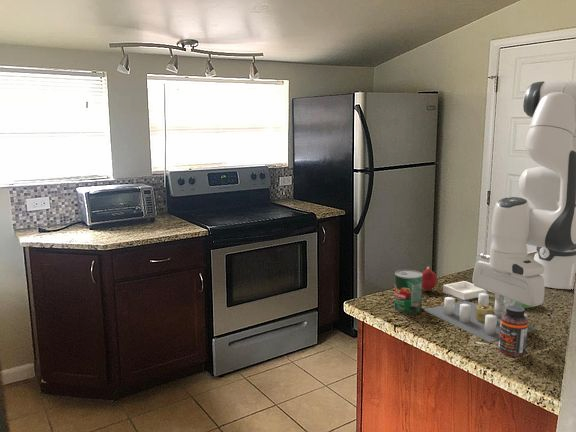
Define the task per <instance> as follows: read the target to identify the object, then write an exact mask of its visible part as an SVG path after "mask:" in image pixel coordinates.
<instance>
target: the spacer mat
mask: <svg viewBox="0 0 576 432" xmlns="http://www.w3.org/2000/svg"><path fill="white" fill-rule="evenodd" d="M477 299H478V301H477V302H478V303H477V304H476V303H474V302H471V301H470V300H462V301H457V302H456V298H454V297H453V296H452V297H451V296H446V297H444V305H437V306H434V307H428V308H424V309H422V311H424V312H426V313H428V314H429V315H432V316H435V317H436V318H438V319H441V320H443V321H445V322H446V323H448V324H451V325H452V326H455V327H457V328H458V329H461V330H463V331H465V332H467V333H469V334H471V335H473V336H475V337H477V338H479V339H482V340H483V341H486V342H487V343H492V342H496V341H499V337H500V325H501V317H502V315H504V314H506V313H504V312H501V311H498V304H497V302H496V299H495V300H494V308H493V315H485V322H480V321H477V320H476V318H475V308H476V306H477V305H481V304H482V305H488V306H489V303H490V301H489V300H490V295H489V294H488V293H487V292H486V293H480V294H479V297H477ZM504 303H505V304H506V301H504ZM524 316H525V317H526V318H527V319H528V314H527V313H525V314H524ZM537 329H538V328H537ZM537 329H536V328H534V327H532V326H530V325H528V329H527V333H529V332H533V331H537Z"/></svg>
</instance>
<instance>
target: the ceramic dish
mask: <svg viewBox="0 0 576 432" xmlns="http://www.w3.org/2000/svg"><path fill="white" fill-rule="evenodd" d="M487 292H488V291H487V290H484V289H481V288H479V287H476V286H474V284H473V282H469V281H466V280H462V281H458V282H451V283H446V284H443V285H442V293H443V294H445V295H450V296H452V297H455V298H458V299H460V300H462V301H465V300H467V301H469V300H472V299H476V298H477V299H478V298H479V294H480V293H486V294H487Z"/></svg>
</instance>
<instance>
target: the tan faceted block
mask: <svg viewBox="0 0 576 432" xmlns="http://www.w3.org/2000/svg"><path fill="white" fill-rule="evenodd" d="M493 311H494V307H492V306H491V305H489V304H488V305H482V304H481V305H478V304H477V306H476V308H475V318H476V320H477V321H480V322H485V315H493Z"/></svg>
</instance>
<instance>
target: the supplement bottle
mask: <svg viewBox="0 0 576 432" xmlns="http://www.w3.org/2000/svg"><path fill="white" fill-rule="evenodd" d="M525 309H526V308H523V307H520V306H516V305H509V306H507V307H506V313H505V314H504V315H502V317H501V325H500V337H499V340H498V350H499V352H500V353H501V354H503V355H506V356H508V357H509V356H510V357H515V358H522V357H524V356H525V354H526V349H527V348H526V347H527V339H528V338H527V337H528V332H527V329H528V326H529V320H528V317H527V318H526V317H525V316H524V314H526V313H525V311H526V310H525Z"/></svg>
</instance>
